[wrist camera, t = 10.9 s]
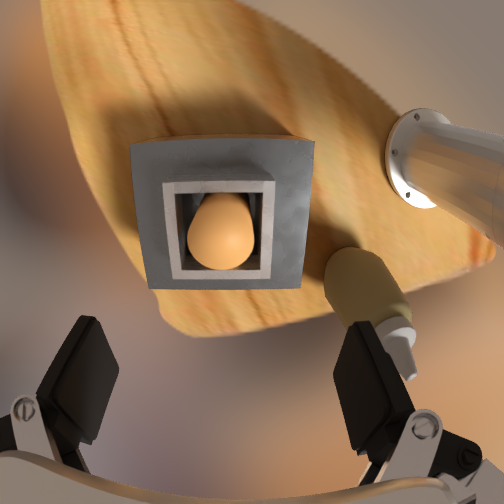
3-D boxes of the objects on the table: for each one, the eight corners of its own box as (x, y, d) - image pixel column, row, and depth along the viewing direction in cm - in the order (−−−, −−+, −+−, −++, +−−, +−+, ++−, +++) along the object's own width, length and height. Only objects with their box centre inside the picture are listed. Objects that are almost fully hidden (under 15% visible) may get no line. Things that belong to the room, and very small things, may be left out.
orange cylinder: (250, 180, 25) (256, 208, 17) (249, 225, 27) (253, 270, 19) (202, 179, 25) (184, 207, 17) (203, 224, 27) (188, 270, 19)
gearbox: (293, 135, 26) (324, 144, 17) (286, 249, 32) (306, 304, 23) (157, 137, 25) (116, 148, 16) (166, 250, 31) (141, 305, 22)
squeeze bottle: (317, 239, 32) (382, 354, 16) (377, 235, 32) (464, 330, 16) (314, 295, 35) (357, 413, 19) (369, 289, 36) (430, 390, 20)
